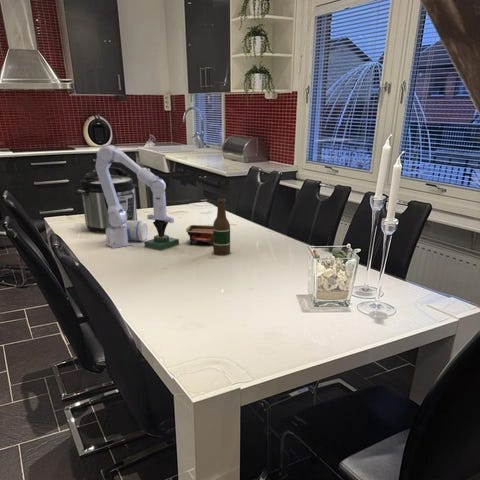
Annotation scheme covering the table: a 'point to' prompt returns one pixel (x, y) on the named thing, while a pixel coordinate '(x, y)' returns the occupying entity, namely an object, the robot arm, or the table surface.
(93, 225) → the pressure cooker
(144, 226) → the supplement tub
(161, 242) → the button box
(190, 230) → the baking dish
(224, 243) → the beer bottle
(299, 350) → the table surface
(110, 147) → the robot arm
